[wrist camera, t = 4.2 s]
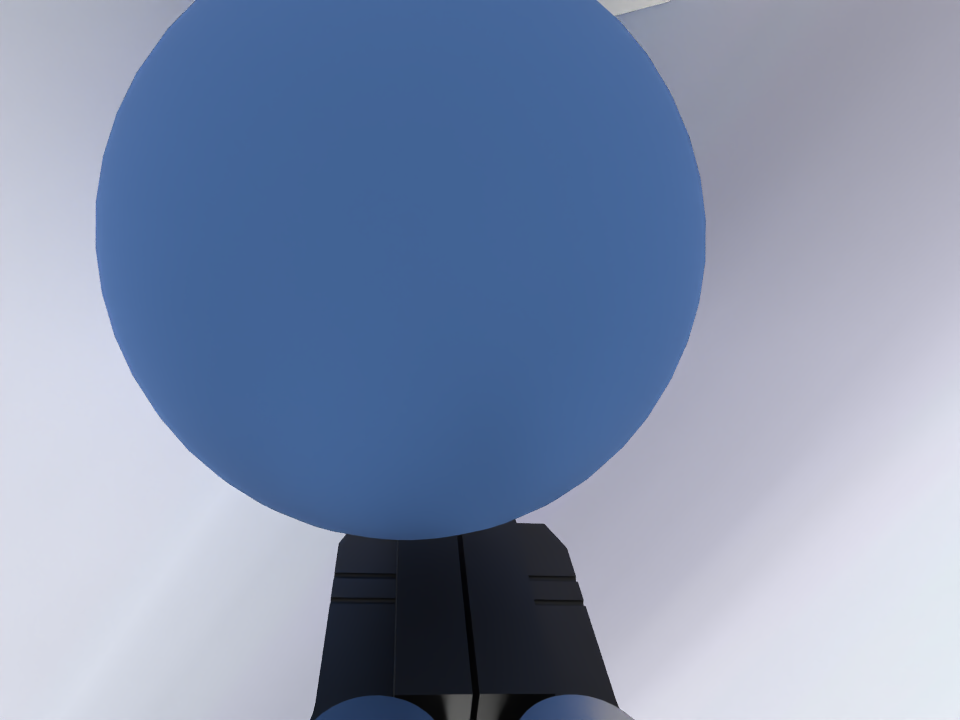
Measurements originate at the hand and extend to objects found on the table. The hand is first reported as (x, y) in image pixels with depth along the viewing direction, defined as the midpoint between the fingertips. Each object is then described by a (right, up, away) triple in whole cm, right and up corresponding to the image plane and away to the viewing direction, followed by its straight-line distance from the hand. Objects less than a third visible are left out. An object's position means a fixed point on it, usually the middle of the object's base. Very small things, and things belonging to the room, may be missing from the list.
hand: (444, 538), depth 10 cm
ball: (0, +4, -3) cm, 5 cm away
